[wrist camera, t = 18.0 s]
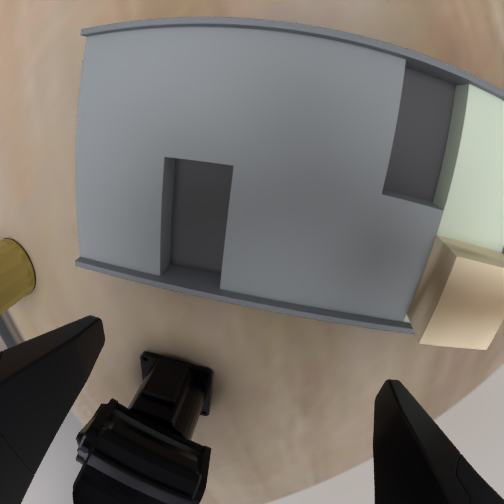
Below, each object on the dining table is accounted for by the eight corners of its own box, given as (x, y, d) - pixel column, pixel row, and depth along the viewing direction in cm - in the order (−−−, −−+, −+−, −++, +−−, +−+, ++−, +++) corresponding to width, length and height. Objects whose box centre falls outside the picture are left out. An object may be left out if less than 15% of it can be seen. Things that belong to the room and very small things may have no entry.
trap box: (458, 319, 20) (471, 341, 18) (95, 250, 23) (75, 265, 20) (522, 113, 14) (545, 115, 11) (104, 35, 16) (81, 29, 13)
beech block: (470, 323, 18) (486, 349, 15) (406, 314, 18) (418, 343, 16) (501, 252, 16) (524, 273, 13) (436, 234, 16) (456, 256, 13)
